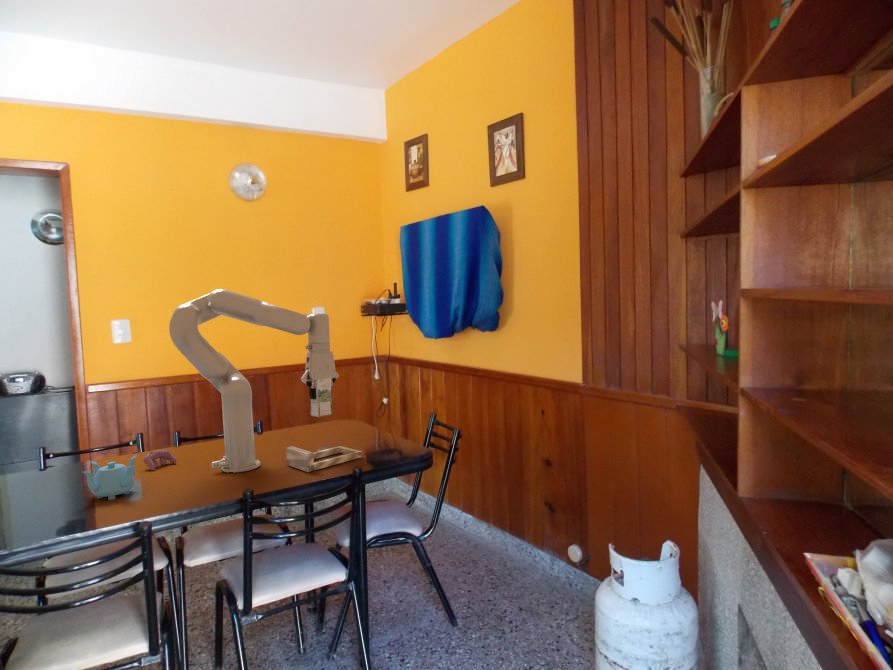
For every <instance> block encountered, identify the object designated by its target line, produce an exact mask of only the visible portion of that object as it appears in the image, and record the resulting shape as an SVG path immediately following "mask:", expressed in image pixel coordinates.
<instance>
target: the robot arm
mask: <svg viewBox="0 0 893 670" xmlns="http://www.w3.org/2000/svg"><path fill="white" fill-rule="evenodd" d="M220 316H224V317H228V318H231V319H235V320H238V321H242V322H246V323H249V324H252V325H256V326H260V327H267V328H272V329H275V330H278V331H281V332H285V333H288V334H291V335H294V336H304V335H306V334H307V335H308V337H307V340H308V341H307V342H308V344H307V345H305V350H308V352H306V357H305V368H304V369H305V372H304V373H303V374H302V376H301V377H300V381H301V382H302V383H304V385H306V387H307V388H308V393H309V395H308V396H309V400H310V399H316V388H314V387H315V383H316V382H315V380H320V379H327V378H331V397H332V395H333V386H334V384H335V382H336V380H337V379H338V378H339V377H340V374H339V373H338V371H336V363H335V358H334V357H335V356H334V352H333V351H332V350H331V340H330V339H331V336H330V334H331V333H330V318H329V314H327V313H310V314H304V313H300V312H297V311H294V310H290V309H287V308H285V307H280V306H277V305H274V304H272V303H269V302H266V301H264V300H260V299H258V298H254V297H251V296H248V295H243V294H240V293H239V292H234V291H232V290H229V289H224V288H218V289H214V290H212V291H211V292H209V293H208V294H205V295H203V296H200V297H198V298H195V299H194V300H191V301H187V302H185V303H183V304H180V305H178V306H177V307H176V308H175V309H174V310H173V313H172V314H171V318H170V320H169V321H170V322H169V326H168V327H169V328H168V329H169V335H170V339H171V341H172V343H173V345H174V346H175V348H176V349H177V350H178V352H180V354H181V355H183V356H184V358H185V359H186V360H187V361H188V362H189V363H190V364H191V365H192V366H193V367H194V368H195V370H197V371H198V373H199V374H200V375H201V376H202V377H203V379H206V380H207V381H208V382H209V383H210V384H211V385H212V386H213V387H214V388H215V389H216V390H217V391H218V392H219V393H220V395H221V397H220V398H221V409H222V425H223V427H222V428H223V440H224V454H225V455H223V456H222V457H221V458H220V460H216V461H211V463H210V465H211V466H210V467H211V468H212V469H213V468H221V471H222V472H224V473H229V472H233V474H234V473H243V472H248V471H252V470H255V469H257V468H259V467H260V466H261V461H260V460H259V459H256V451H255V436H254V435H255V433H254V417H253V393H252V387H251V383H250V382H249V380H248V379H247V378H246V377H245V376H244V375H243V374H242V373H241V372H240V370H239V369H237V368H236V367H235V365H234V364H233V363H232V362H230V360H229V359H228V358H227V357H226V356H225V355H224V354H223V353H221V352H219V351H217V350H216V349H215V348H214V347H213V346H212V345H211V344H210V343H209V341H208V340H207V339H206V338H205V337H204V336H203V335H202V334H201V332H200V331H199V326H200V325H202V324H204V323H206V322H209V321H211V320H214V319H215V318H218V317H220Z"/></svg>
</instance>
